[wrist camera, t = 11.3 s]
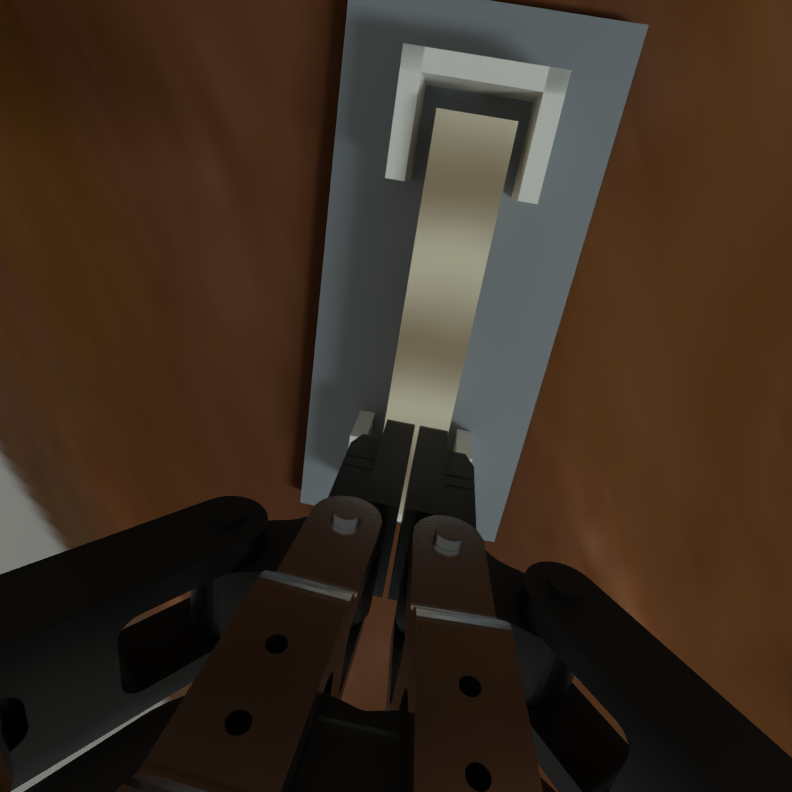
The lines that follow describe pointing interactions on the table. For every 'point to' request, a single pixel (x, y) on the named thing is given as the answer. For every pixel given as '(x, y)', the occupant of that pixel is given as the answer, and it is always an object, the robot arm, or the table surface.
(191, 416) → the table surface
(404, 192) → the cap board
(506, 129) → the slat
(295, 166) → the table surface
